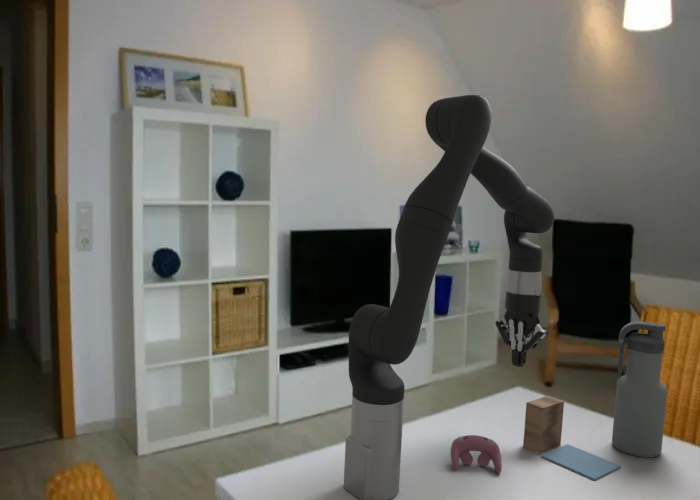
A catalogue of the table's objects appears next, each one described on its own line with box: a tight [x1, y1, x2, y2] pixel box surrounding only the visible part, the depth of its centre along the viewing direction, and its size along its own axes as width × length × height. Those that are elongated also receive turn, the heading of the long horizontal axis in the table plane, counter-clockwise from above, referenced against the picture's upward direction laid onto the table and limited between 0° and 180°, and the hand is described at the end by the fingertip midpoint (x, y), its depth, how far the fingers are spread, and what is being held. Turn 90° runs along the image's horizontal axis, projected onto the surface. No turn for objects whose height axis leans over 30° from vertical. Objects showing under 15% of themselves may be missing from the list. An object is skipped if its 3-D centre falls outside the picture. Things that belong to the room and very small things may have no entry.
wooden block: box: [522, 395, 565, 455], centre depth 124 cm, size 8×4×10 cm, turn 128°
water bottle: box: [611, 320, 668, 458], centre depth 124 cm, size 10×10×28 cm
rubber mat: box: [540, 443, 622, 482], centre depth 117 cm, size 10×12×1 cm
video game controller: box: [450, 434, 503, 475], centre depth 113 cm, size 10×5×7 cm, turn 85°
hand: (518, 365), depth 129 cm, fingers closed
